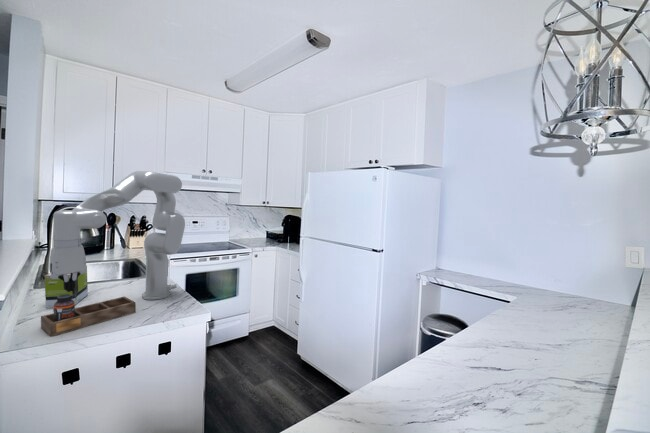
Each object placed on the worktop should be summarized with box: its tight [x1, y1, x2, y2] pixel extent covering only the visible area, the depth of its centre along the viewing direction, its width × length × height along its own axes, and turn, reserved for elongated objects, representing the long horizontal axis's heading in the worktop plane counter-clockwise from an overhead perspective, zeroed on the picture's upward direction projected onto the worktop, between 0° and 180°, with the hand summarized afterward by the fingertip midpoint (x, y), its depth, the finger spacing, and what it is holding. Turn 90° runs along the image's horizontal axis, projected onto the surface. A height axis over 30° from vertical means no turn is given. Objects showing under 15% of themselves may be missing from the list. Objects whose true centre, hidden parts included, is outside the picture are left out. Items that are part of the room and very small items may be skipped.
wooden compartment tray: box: [40, 296, 137, 337], centre depth 120 cm, size 28×10×5 cm, turn 148°
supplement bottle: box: [53, 294, 76, 322], centre depth 112 cm, size 6×6×11 cm
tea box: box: [44, 265, 89, 309], centre depth 135 cm, size 15×10×15 cm
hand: (69, 290), depth 115 cm, fingers closed
